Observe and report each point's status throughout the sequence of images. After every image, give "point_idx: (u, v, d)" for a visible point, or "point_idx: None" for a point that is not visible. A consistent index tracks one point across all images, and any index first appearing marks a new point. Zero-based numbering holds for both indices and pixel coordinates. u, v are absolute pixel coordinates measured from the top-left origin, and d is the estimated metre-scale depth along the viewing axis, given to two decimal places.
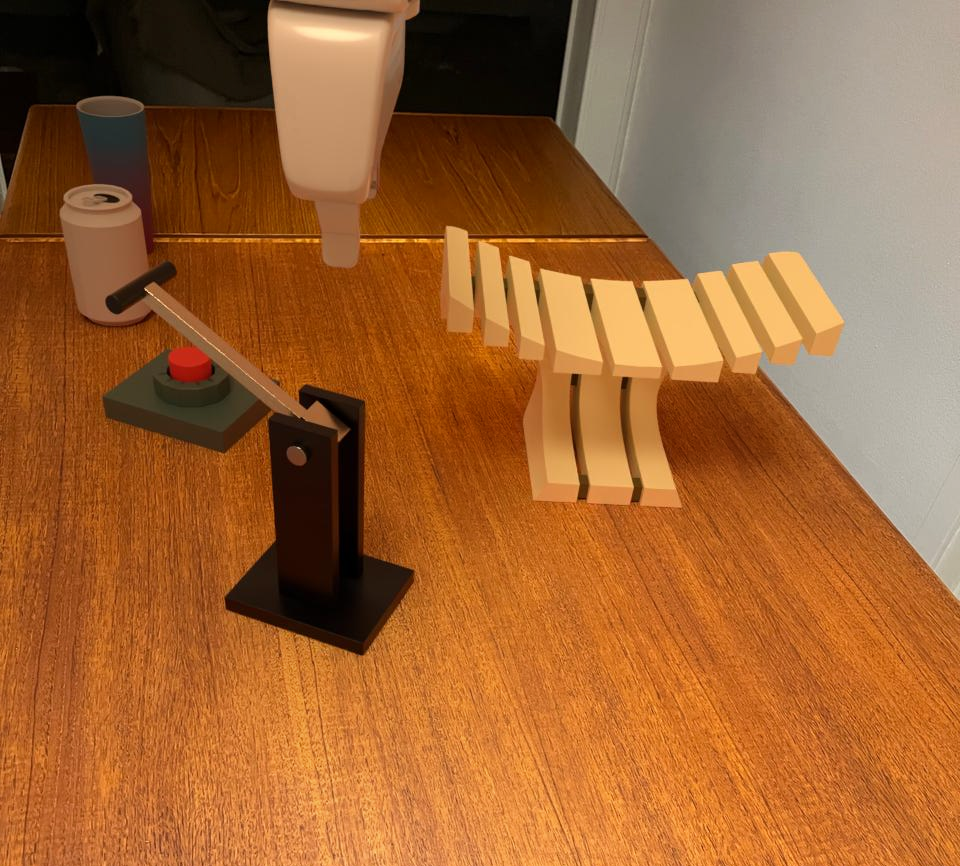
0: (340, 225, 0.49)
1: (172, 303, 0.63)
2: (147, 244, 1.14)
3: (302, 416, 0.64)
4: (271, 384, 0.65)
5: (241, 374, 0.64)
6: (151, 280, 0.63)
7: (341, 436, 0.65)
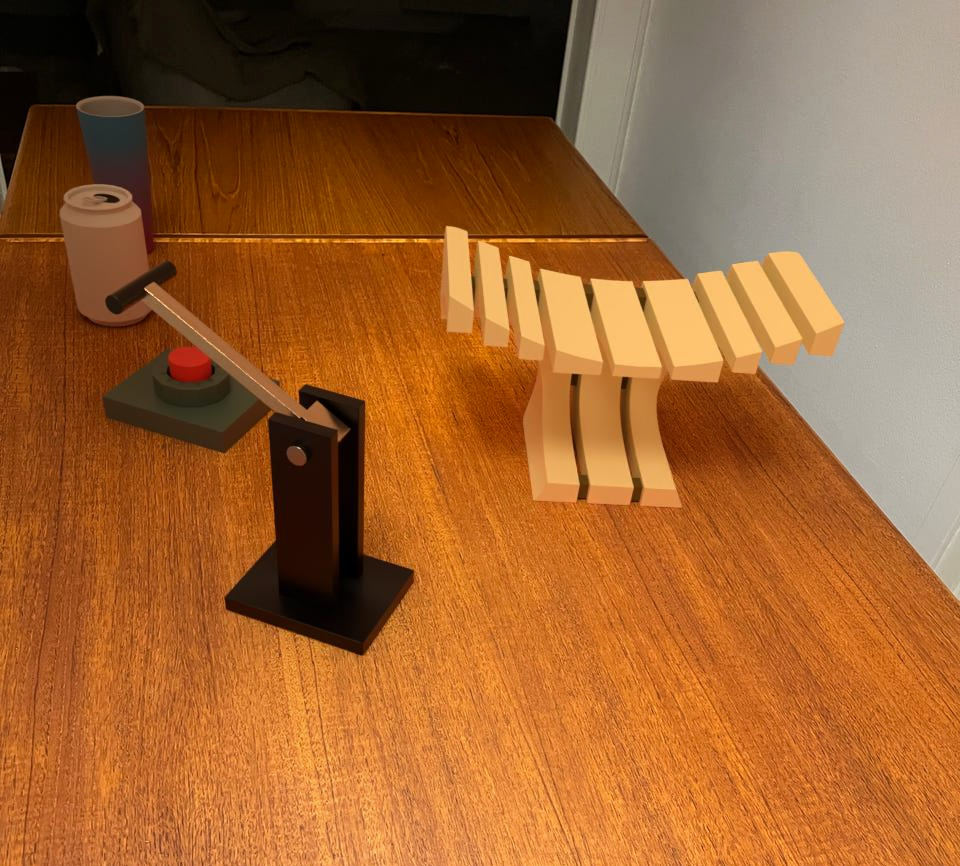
0: None
1: (172, 303, 0.63)
2: (147, 244, 1.14)
3: (302, 416, 0.64)
4: (271, 384, 0.65)
5: (241, 374, 0.64)
6: (151, 280, 0.63)
7: (341, 436, 0.65)
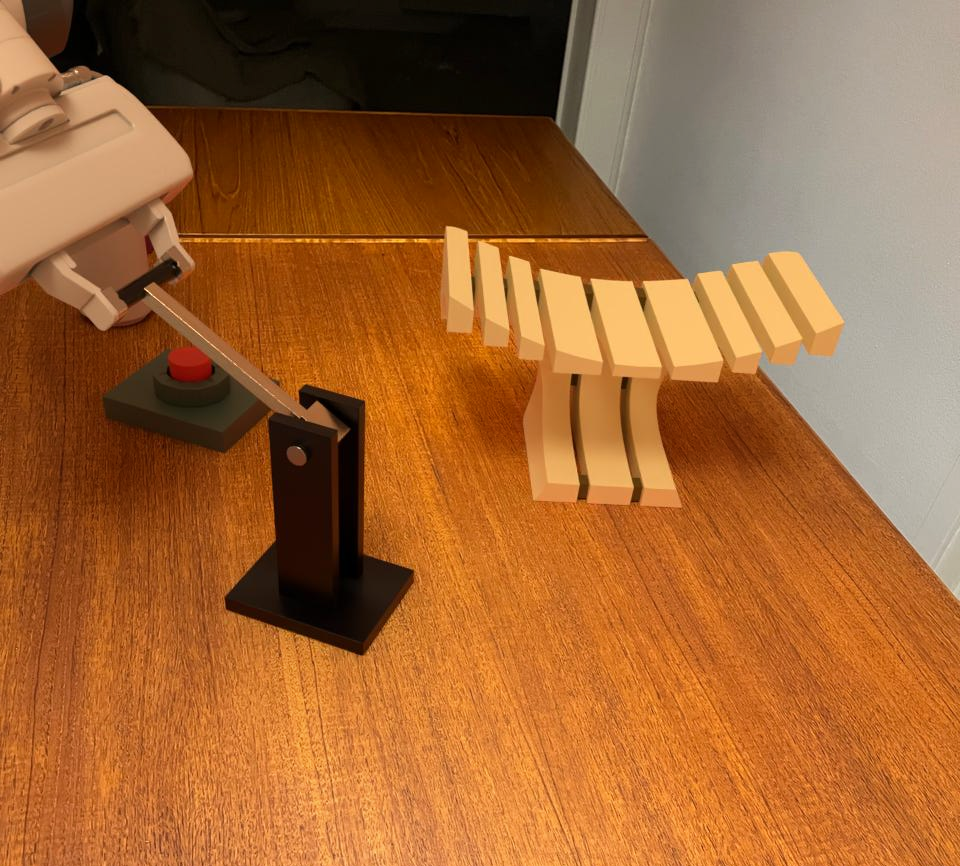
0: (77, 296, 0.59)
1: (171, 303, 0.63)
2: (147, 244, 1.14)
3: (302, 416, 0.64)
4: (271, 384, 0.65)
5: (241, 374, 0.64)
6: (151, 280, 0.63)
7: (341, 436, 0.65)
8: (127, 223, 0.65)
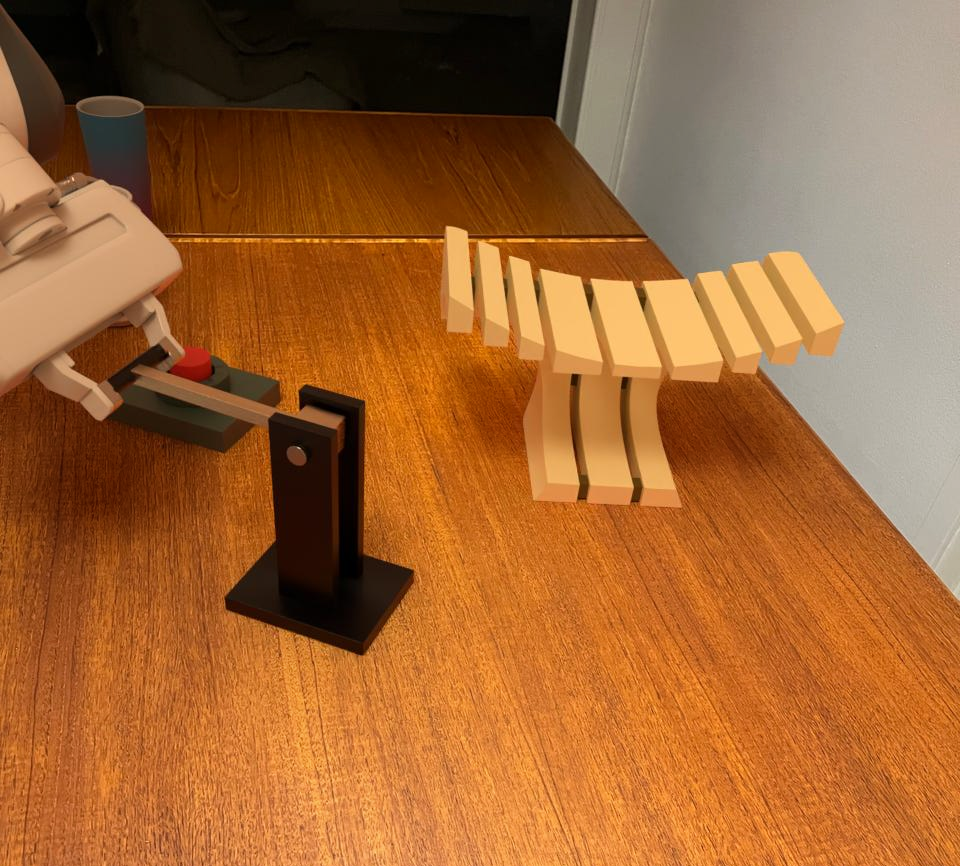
0: (76, 390, 0.64)
1: (158, 374, 0.67)
2: None
3: None
4: (262, 406, 0.66)
5: (232, 408, 0.66)
6: (137, 363, 0.68)
7: (336, 424, 0.64)
8: (121, 316, 0.70)
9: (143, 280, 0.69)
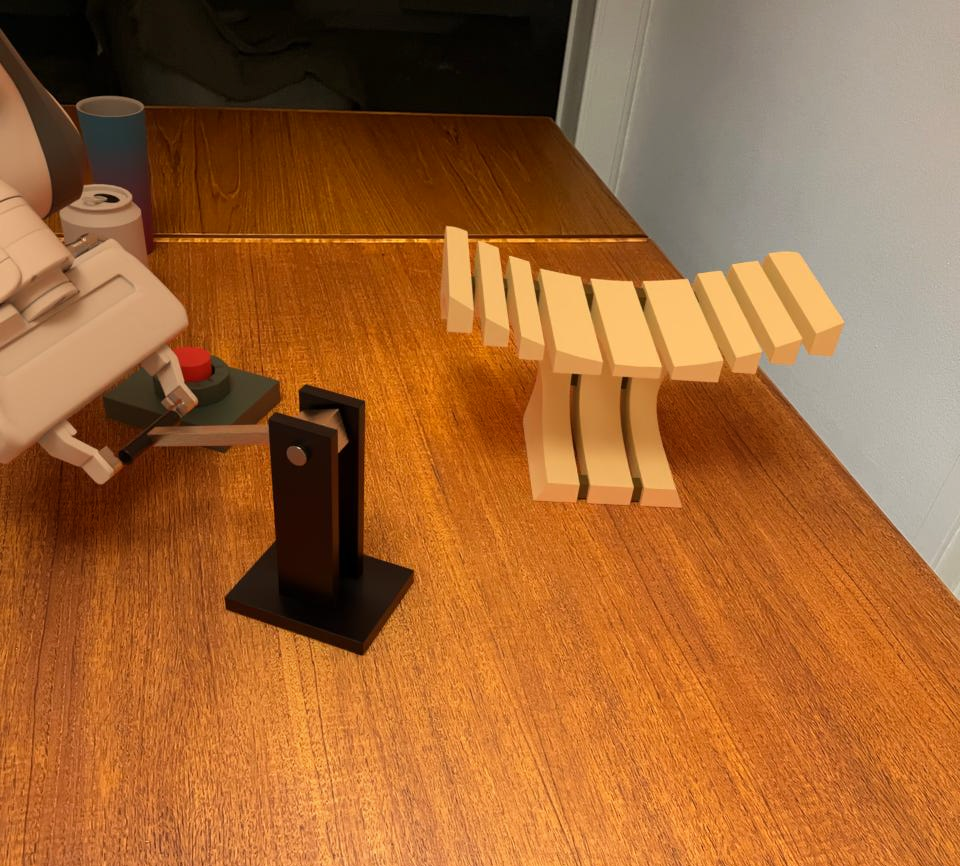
0: (77, 457, 0.67)
1: (170, 429, 0.70)
2: (147, 244, 1.14)
3: None
4: (263, 426, 0.67)
5: (238, 436, 0.67)
6: (153, 427, 0.71)
7: (329, 417, 0.64)
8: (130, 371, 0.74)
9: (151, 338, 0.72)
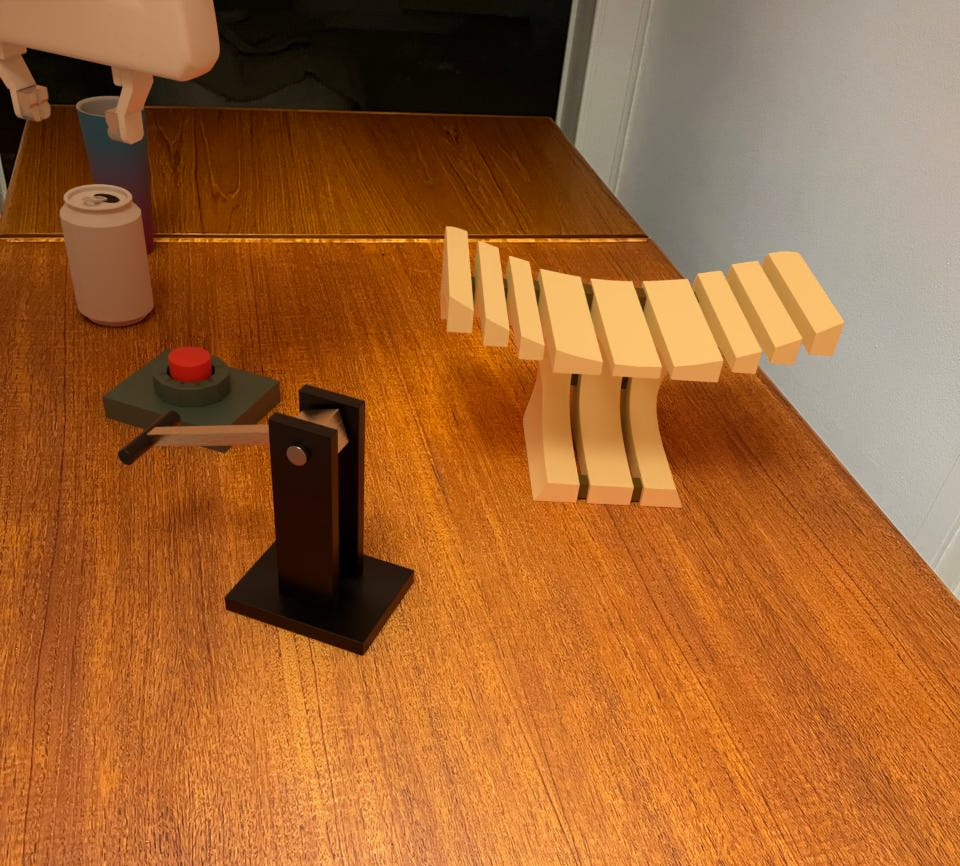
0: None
1: (170, 429, 0.70)
2: (147, 244, 1.14)
3: None
4: (263, 426, 0.67)
5: (238, 436, 0.67)
6: (153, 427, 0.71)
7: (329, 417, 0.64)
8: None
9: (114, 55, 0.59)
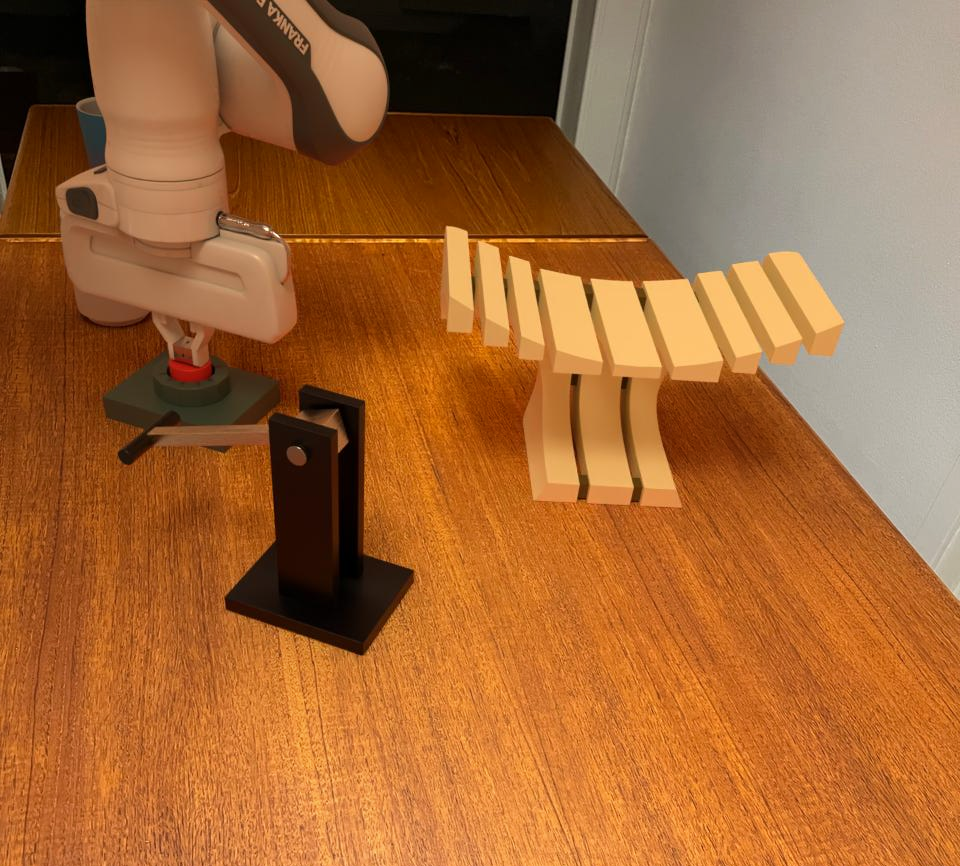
0: None
1: (170, 429, 0.70)
2: None
3: None
4: (263, 426, 0.67)
5: (238, 436, 0.67)
6: (153, 427, 0.71)
7: (329, 417, 0.64)
8: None
9: (222, 325, 0.82)
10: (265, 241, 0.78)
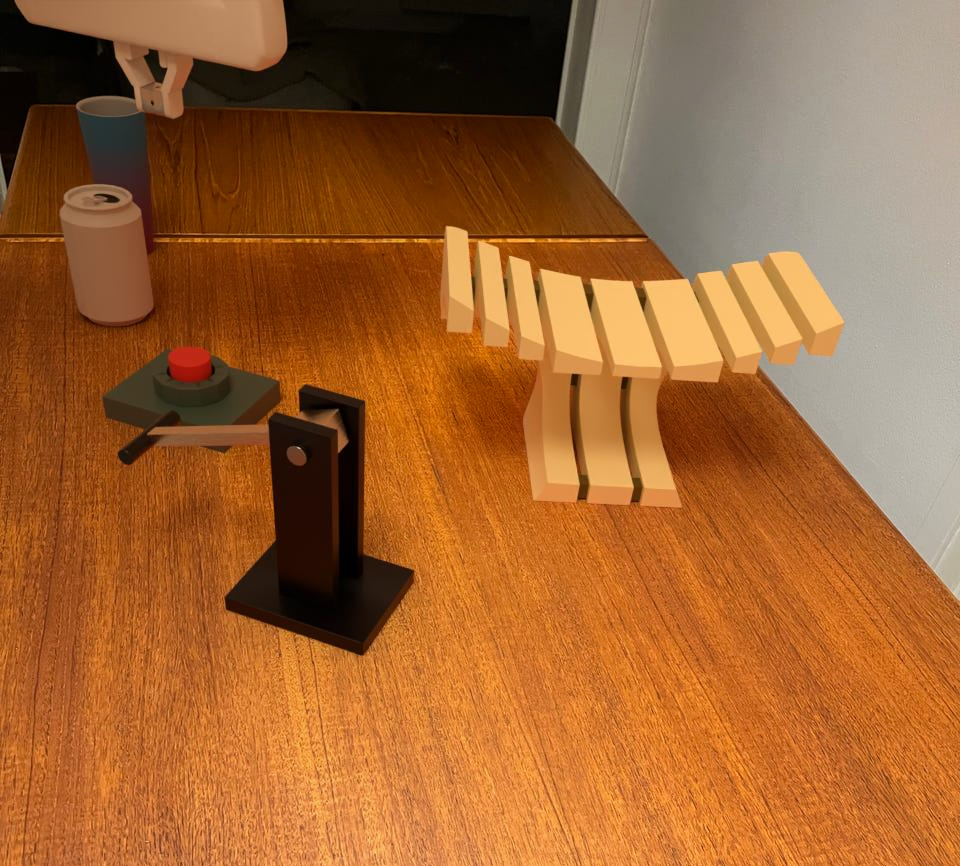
0: None
1: (170, 429, 0.70)
2: (147, 244, 1.14)
3: None
4: (263, 426, 0.67)
5: (238, 436, 0.67)
6: (153, 427, 0.71)
7: (329, 417, 0.64)
8: None
9: (197, 48, 0.69)
10: None
